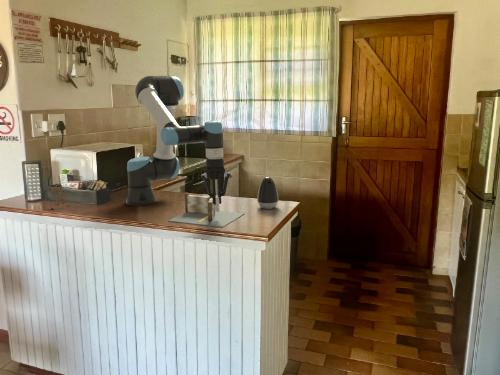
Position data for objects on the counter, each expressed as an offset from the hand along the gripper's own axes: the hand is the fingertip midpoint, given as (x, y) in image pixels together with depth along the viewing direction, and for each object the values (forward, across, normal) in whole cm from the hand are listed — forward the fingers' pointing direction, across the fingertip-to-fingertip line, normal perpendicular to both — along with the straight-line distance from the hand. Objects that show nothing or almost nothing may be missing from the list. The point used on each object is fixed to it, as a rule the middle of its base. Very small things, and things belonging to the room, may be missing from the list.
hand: (217, 211), depth 188 cm
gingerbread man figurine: (+3, -71, +48) cm, 86 cm away
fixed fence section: (+4, -6, +13) cm, 14 cm away
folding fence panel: (+3, -2, +2) cm, 5 cm away
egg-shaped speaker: (+5, +27, +13) cm, 31 cm away
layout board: (+4, -4, +5) cm, 8 cm away
